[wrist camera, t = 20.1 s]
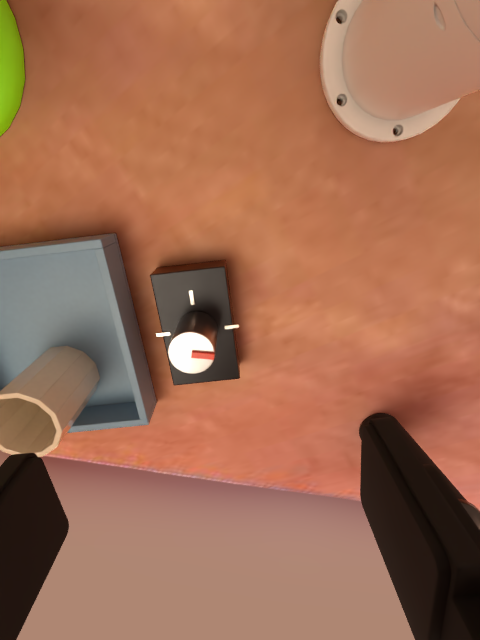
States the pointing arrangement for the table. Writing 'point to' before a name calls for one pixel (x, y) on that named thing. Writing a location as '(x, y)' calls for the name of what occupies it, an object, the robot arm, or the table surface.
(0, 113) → the wineglass
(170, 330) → the black dial panel
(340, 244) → the table surface
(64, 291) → the tray
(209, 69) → the table surface
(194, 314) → the control knob
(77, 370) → the cup
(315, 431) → the table surface
